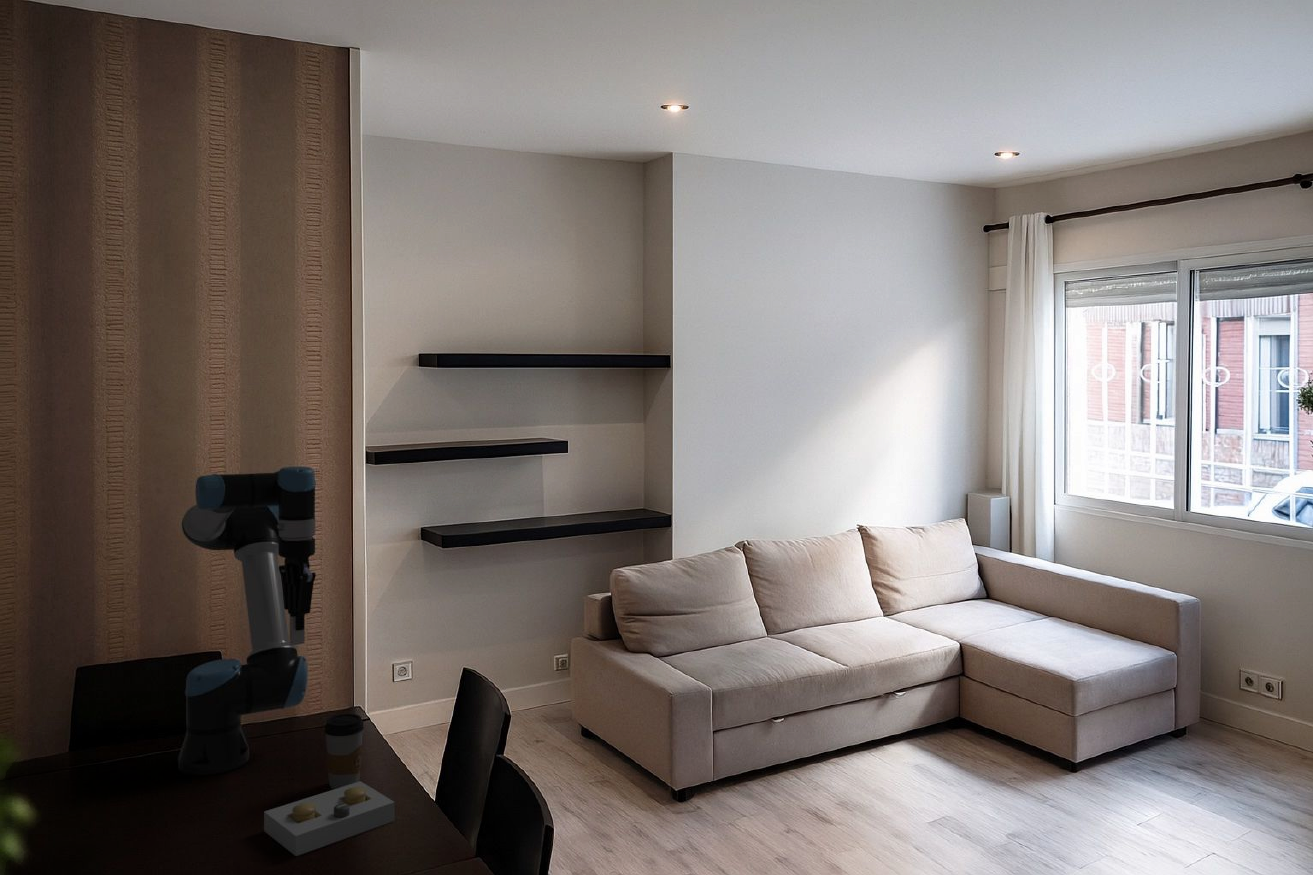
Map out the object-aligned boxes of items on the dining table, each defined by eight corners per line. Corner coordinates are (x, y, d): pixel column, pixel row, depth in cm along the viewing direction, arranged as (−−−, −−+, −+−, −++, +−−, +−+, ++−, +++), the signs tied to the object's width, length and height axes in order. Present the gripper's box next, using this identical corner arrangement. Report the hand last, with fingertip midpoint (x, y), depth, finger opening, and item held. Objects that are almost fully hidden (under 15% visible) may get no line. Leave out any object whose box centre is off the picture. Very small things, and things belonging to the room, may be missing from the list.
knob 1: (288, 827, 188) (288, 807, 188) (309, 820, 192) (309, 800, 191) (298, 834, 185) (298, 815, 185) (319, 827, 188) (319, 808, 188)
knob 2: (340, 809, 196) (340, 791, 196) (359, 803, 199) (359, 784, 199) (350, 816, 193) (350, 797, 193) (370, 810, 196) (370, 791, 196)
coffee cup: (351, 794, 207) (351, 727, 206) (317, 790, 209) (317, 724, 208) (370, 779, 215) (370, 714, 214) (337, 775, 217) (337, 711, 216)
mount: (264, 830, 190) (264, 802, 189) (360, 799, 205) (360, 772, 205) (296, 856, 180) (295, 826, 180) (394, 820, 195) (394, 793, 195)
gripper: (266, 535, 209) (267, 640, 210) (293, 543, 200) (294, 653, 201) (299, 532, 214) (300, 634, 215) (327, 539, 205) (327, 646, 206)
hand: (297, 643), depth 208 cm, fingers closed
